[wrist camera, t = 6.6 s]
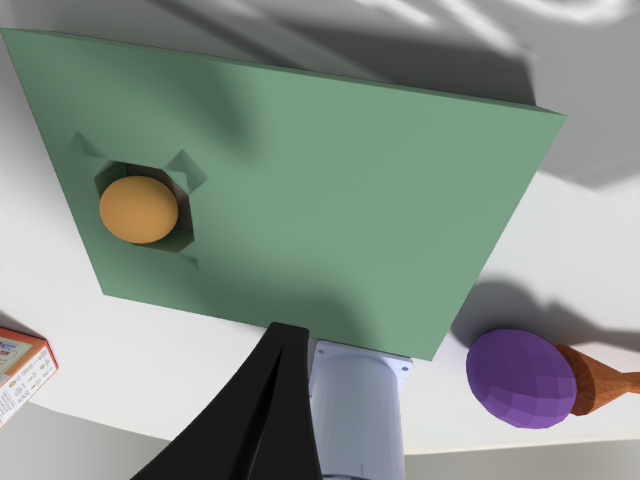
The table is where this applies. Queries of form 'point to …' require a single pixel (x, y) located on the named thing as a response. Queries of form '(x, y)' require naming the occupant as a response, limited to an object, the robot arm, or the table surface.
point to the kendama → (540, 379)
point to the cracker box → (21, 370)
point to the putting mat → (285, 185)
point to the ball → (138, 209)
